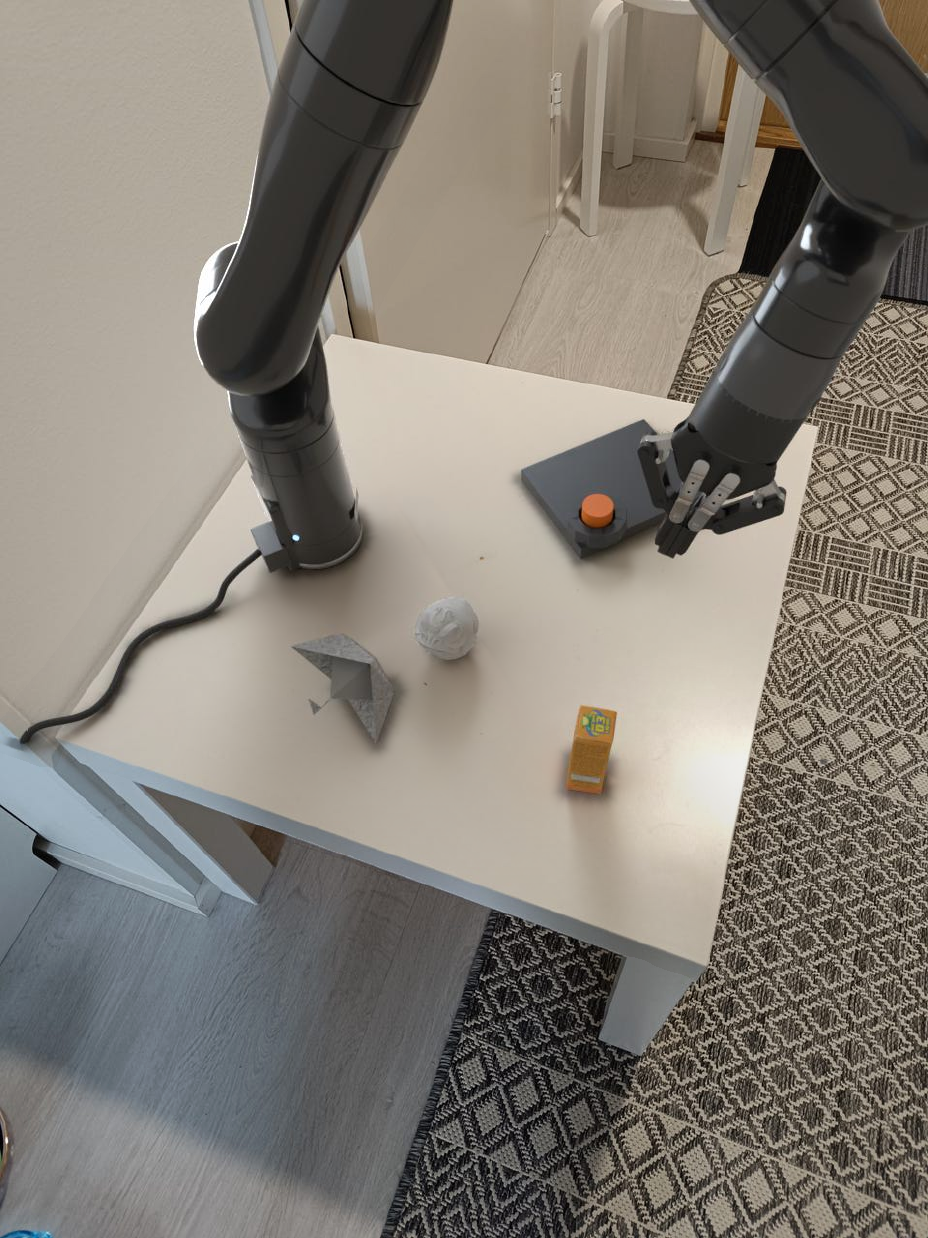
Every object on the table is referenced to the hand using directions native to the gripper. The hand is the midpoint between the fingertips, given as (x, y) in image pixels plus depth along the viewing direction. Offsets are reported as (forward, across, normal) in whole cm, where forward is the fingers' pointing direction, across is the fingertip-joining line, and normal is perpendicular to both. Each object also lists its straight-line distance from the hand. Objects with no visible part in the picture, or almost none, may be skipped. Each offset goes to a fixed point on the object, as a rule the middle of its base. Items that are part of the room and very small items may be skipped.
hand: (666, 549), depth 78 cm
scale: (+11, +5, -20) cm, 23 cm away
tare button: (+9, +6, -13) cm, 17 cm away
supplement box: (+17, -2, +13) cm, 21 cm away
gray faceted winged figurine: (+23, +21, +12) cm, 33 cm away
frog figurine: (+19, +14, +4) cm, 24 cm away
